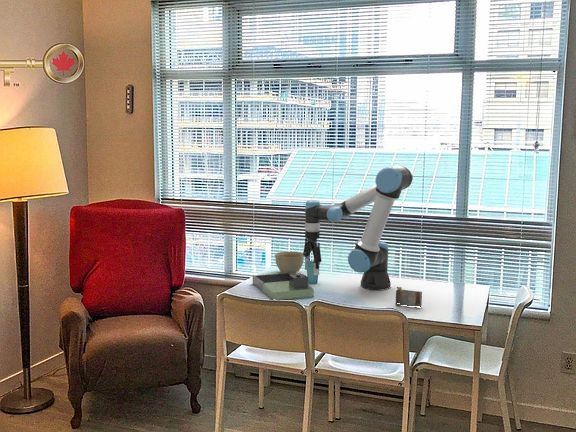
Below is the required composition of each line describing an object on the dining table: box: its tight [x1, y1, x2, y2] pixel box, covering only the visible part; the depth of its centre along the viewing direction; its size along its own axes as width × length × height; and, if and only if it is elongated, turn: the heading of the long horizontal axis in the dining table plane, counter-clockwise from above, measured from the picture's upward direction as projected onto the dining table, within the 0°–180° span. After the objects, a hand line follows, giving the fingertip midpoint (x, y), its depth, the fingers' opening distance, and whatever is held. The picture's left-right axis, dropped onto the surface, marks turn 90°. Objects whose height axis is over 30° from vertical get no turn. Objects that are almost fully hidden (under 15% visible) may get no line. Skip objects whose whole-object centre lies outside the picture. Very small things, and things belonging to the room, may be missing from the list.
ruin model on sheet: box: [395, 286, 423, 308], centre depth 292 cm, size 11×3×10 cm, turn 68°
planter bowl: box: [274, 251, 305, 275], centre depth 354 cm, size 16×16×11 cm
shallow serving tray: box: [252, 270, 315, 300], centre depth 319 cm, size 33×20×11 cm, turn 21°
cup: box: [304, 256, 321, 285], centre depth 333 cm, size 14×8×15 cm, turn 148°
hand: (311, 272), depth 333 cm, fingers open, 11 cm apart
